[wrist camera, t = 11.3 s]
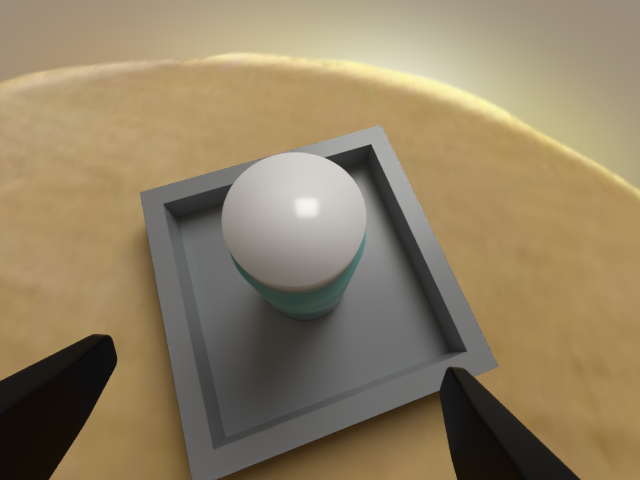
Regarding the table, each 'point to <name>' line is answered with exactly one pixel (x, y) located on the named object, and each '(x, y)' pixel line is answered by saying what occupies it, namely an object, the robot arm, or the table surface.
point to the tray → (303, 336)
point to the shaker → (296, 232)
